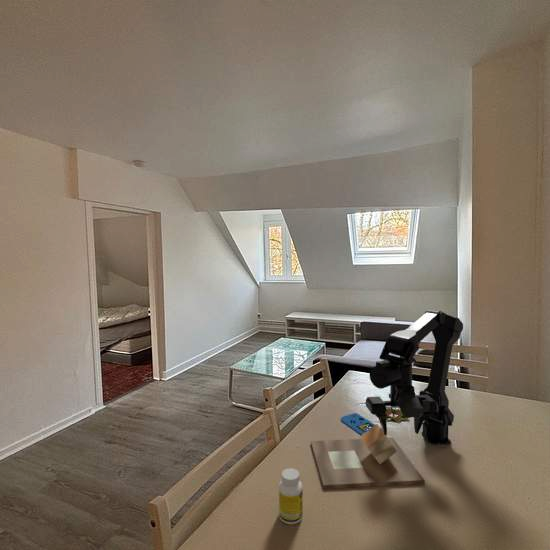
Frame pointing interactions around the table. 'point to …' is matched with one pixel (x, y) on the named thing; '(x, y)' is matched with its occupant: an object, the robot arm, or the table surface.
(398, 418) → the lily flower
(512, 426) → the table surface
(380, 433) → the beech block
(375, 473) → the walnut board
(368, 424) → the handheld gaming device
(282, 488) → the supplement bottle
